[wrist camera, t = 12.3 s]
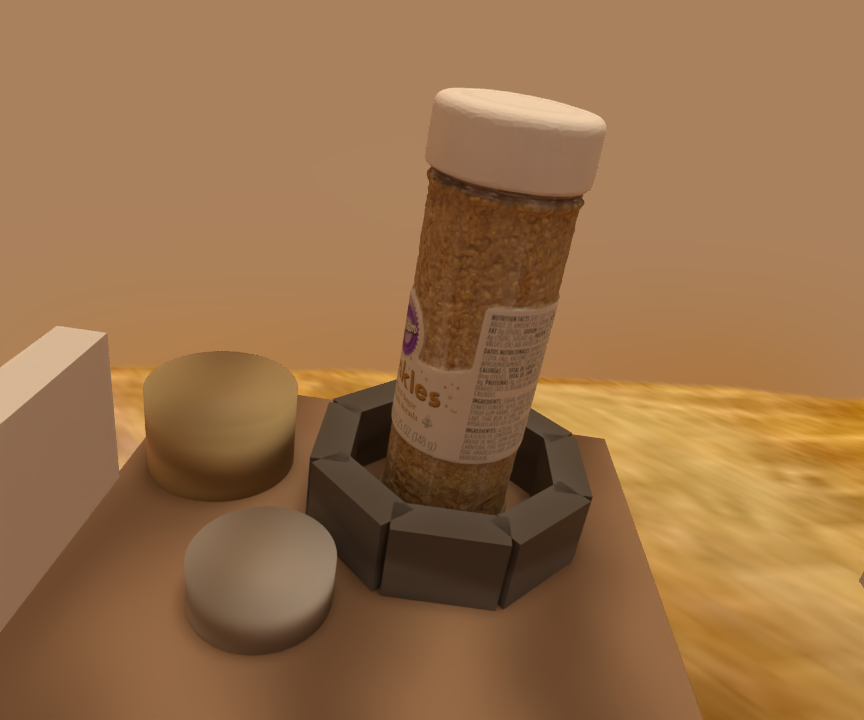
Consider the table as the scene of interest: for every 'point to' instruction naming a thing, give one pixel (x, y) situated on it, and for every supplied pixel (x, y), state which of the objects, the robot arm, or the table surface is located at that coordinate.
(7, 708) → the carrier board
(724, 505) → the table surface
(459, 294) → the sprinkles bottle
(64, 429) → the robot arm
